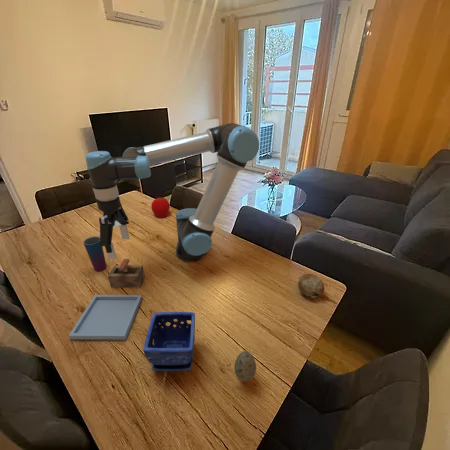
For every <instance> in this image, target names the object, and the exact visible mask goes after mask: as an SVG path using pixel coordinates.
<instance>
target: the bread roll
mask: <svg viewBox="0 0 450 450" xmlns="http://www.w3.org/2000/svg"><path fill="white" fill-rule="evenodd" d="M297 288H298V291H300V292H301V293H302V294H304V295H306V296H307V297H310V298H311V299H312V298H313V299H315V298H317V297H319V296H322V295H324V292H325V284H324V282H323V280H322V279H321V278H320V277H319V276H317V275H315V274H313V273H305V274H301V276H299V277H298V282H297Z"/></svg>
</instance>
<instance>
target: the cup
mask: <svg viewBox="0 0 450 450" xmlns="http://www.w3.org/2000/svg"><path fill="white" fill-rule="evenodd" d="M82 243H83V246H84V248H85V250H86V253H87V255H88V258H89V260H90V262H91V265H92V267H93V270H94V271H95V272H103V271H105V270H106V269H107V263H106V258H105V257H106V256H105V253H104V248H103V247H104V246H100V236H95V235H94V236H90V237H87V238H85V239H84V240H83V242H82Z"/></svg>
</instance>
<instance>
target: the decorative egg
mask: <svg viewBox="0 0 450 450" xmlns="http://www.w3.org/2000/svg"><path fill="white" fill-rule="evenodd" d="M256 371H257V364H256V360H255V357H254V356H253V354H252V353H251V352H249V351H248V350H244V351H241V352H240V353H239V354H238V355H237V357H236V359H235V362H234V373H235V375H236V377H237V379H238V380H240V381H242V382H249V381H251V380H252V379H254V377H255V375H256Z"/></svg>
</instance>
